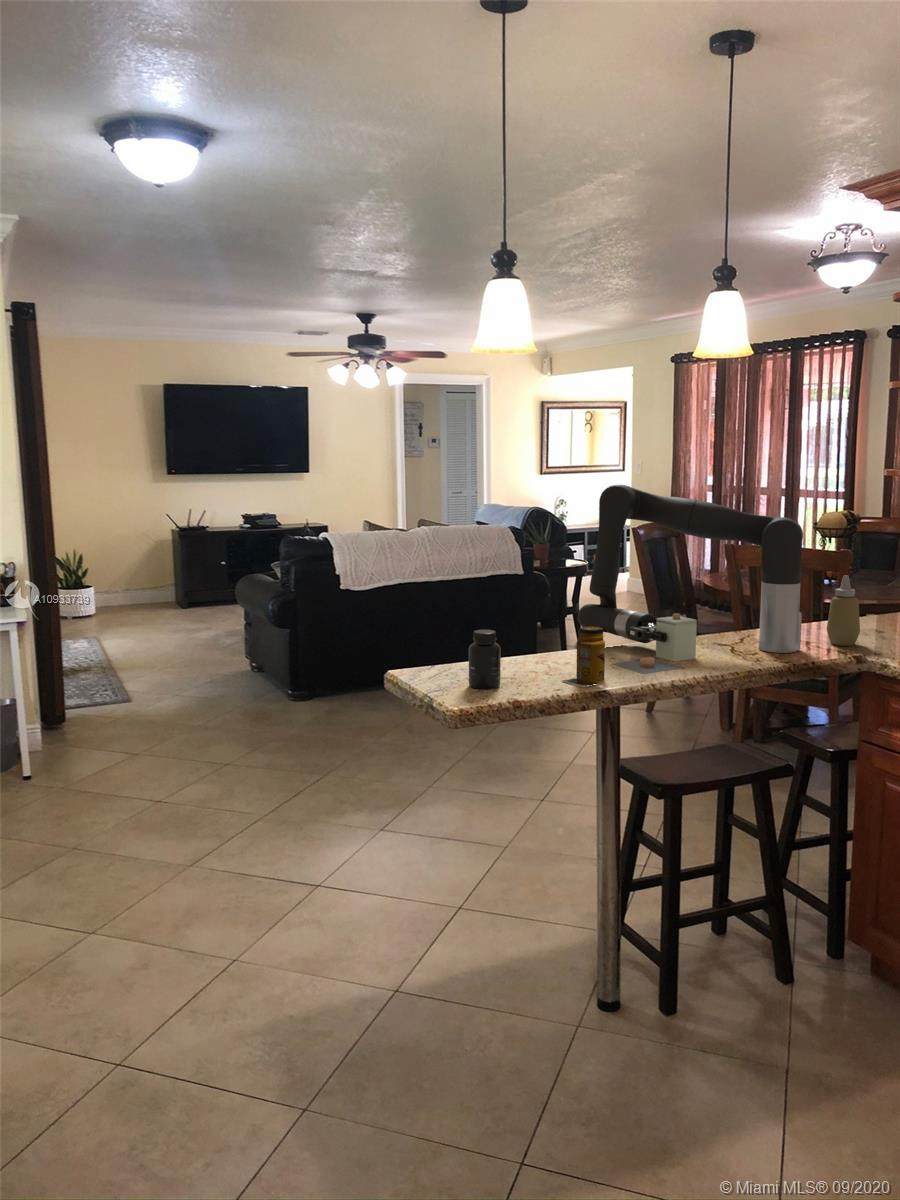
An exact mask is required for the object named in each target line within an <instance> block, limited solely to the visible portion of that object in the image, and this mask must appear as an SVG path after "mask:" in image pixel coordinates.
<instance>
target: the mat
mask: <svg viewBox="0 0 900 1200" xmlns="http://www.w3.org/2000/svg"><path fill="white" fill-rule="evenodd" d="M611 666H616V667H618V668H622V669H626V670H629V671H632V672H636V673H639V674H642V675H647V674H654V673H661V672H668V671H674V670H683V669H684V667H683V666H679V665H676V664H672V663H668V662H665V661H662V660H658V659H655V660H654V667H641V666H640V659H638V660H637V659H636V660H629V661H623V662H621V661H620V662H615V663H614V662H613V663H611Z"/></svg>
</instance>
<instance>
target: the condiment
mask: <svg viewBox="0 0 900 1200" xmlns="http://www.w3.org/2000/svg"><path fill="white" fill-rule="evenodd" d="M605 641H606V640H604V632H603V629H602V628H601V627H595V626H586V627H582V626H581V627H579V629H578V639H577V641H576V673H575V674H576V675H575V676H576V678H570V679H562V680H561V682H563V683H566V684H569V685H572V686H576V687H578V688H589V687H592V686H591V685H593V684H599V682H603V681H604V680H605V670H606V669H605V666H606V665H605V663H606V661H605V660H606V658H605V657H606V656H605V655H606V642H605ZM586 685H589V686H586ZM593 687H596V686H595V685H594V686H593Z"/></svg>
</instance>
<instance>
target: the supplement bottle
mask: <svg viewBox="0 0 900 1200" xmlns="http://www.w3.org/2000/svg"><path fill="white" fill-rule="evenodd" d="M472 638H473V641H474V642H473V643H471V644H470V645H469V648H468V685H469V687H470V688H472V689H474V690H487V691H488V690H494V689H498V688H499V687H501V686H500V685H501V661H502V660H501V657H502V656H501V649H502V648H501V646H500V645H499V644H498V643H497V642H496V641H497V632H496V631H495V630H492V629H477V630H474V631H473V637H472Z"/></svg>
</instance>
